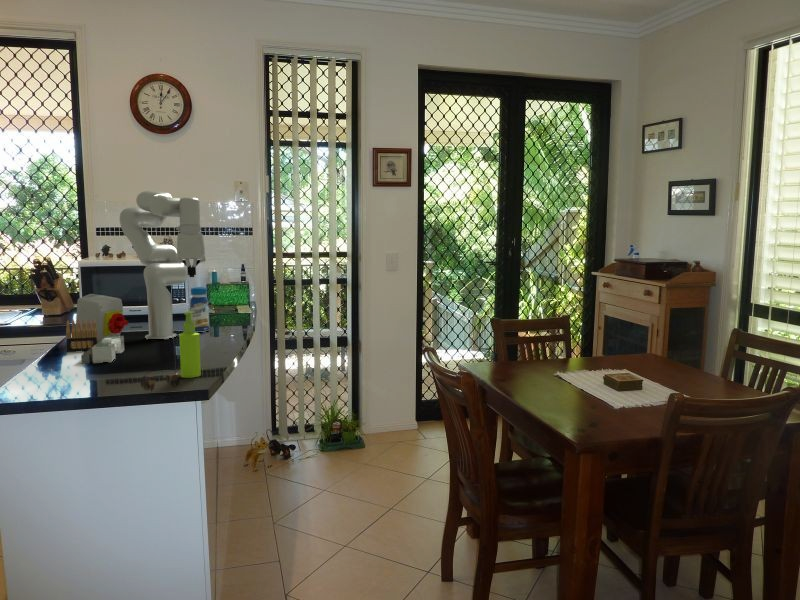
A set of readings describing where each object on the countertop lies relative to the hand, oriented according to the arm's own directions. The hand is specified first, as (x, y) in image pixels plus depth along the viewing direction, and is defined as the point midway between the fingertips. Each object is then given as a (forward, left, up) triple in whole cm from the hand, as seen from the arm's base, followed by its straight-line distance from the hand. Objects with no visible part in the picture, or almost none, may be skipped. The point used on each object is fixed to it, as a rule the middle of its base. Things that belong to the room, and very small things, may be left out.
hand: (191, 276), depth 242 cm
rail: (+16, -30, -27) cm, 43 cm away
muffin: (+16, -28, -27) cm, 43 cm away
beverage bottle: (-35, 0, -27) cm, 44 cm away
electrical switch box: (-16, -36, -27) cm, 48 cm away
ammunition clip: (+2, -40, -27) cm, 49 cm away
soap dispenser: (+55, +3, -27) cm, 61 cm away
